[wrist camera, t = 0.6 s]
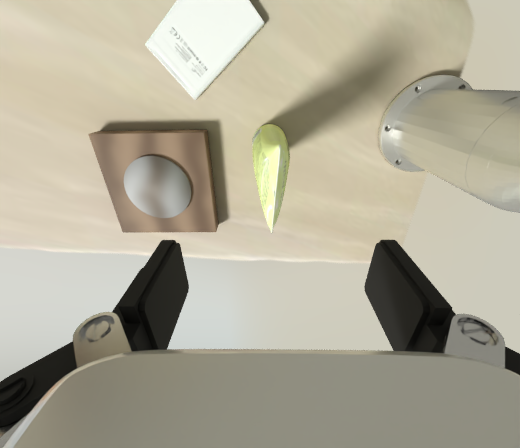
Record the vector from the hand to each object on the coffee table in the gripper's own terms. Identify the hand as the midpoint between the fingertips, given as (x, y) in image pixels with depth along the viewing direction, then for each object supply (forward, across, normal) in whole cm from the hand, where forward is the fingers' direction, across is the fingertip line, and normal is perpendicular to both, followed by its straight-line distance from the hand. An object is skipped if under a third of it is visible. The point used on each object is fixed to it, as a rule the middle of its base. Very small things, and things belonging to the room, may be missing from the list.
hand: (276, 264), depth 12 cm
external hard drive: (+29, +8, -13) cm, 33 cm away
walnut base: (+28, +17, +6) cm, 33 cm away
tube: (+28, 0, 0) cm, 28 cm away
